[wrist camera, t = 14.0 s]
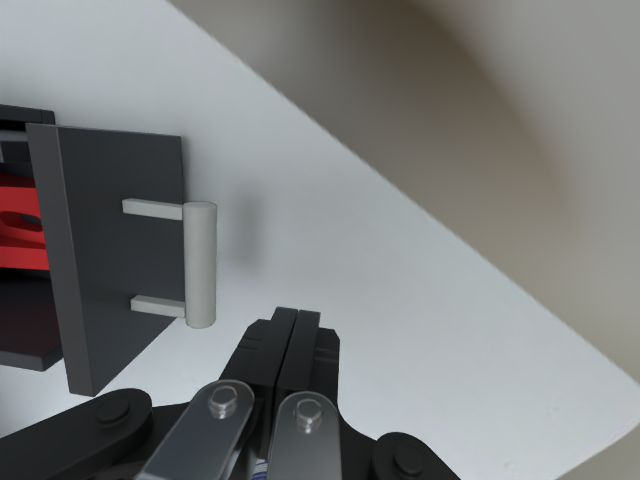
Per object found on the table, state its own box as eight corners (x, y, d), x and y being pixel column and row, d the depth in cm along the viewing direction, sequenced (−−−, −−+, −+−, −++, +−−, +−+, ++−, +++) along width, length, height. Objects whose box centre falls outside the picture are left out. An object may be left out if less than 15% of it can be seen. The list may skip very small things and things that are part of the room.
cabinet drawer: (252, 144, 17) (177, 140, 10) (244, 318, 21) (184, 413, 13) (-33, 111, 18) (-293, 85, 11) (4, 282, 22) (-176, 351, 14)
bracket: (-12, 242, 20) (-74, 258, 17) (-24, 167, 18) (-95, 170, 15) (82, 262, 19) (35, 281, 16) (77, 187, 18) (25, 194, 15)
